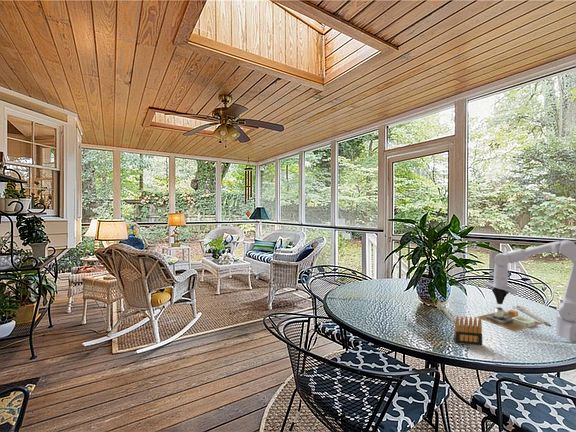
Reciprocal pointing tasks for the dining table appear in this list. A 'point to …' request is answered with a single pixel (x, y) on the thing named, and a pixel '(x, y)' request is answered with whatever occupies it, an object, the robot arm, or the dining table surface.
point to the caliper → (441, 307)
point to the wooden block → (511, 314)
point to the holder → (505, 322)
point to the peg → (499, 313)
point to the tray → (523, 321)
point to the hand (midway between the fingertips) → (499, 303)
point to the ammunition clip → (468, 331)
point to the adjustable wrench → (531, 314)
